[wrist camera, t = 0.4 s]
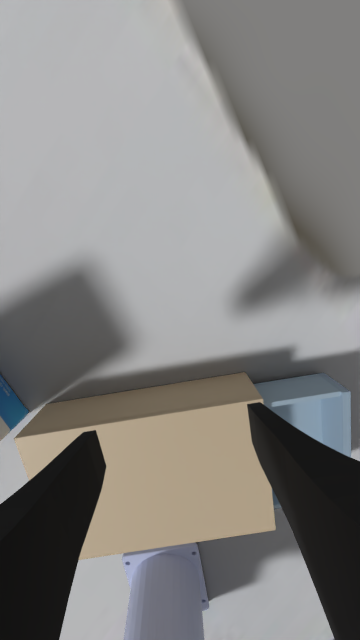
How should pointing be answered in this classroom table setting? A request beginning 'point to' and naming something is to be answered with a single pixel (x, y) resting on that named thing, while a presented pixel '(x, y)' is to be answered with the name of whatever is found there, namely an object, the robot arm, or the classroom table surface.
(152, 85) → the classroom table surface
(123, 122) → the classroom table surface
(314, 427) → the tray
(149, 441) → the sleeve
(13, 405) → the ink box
